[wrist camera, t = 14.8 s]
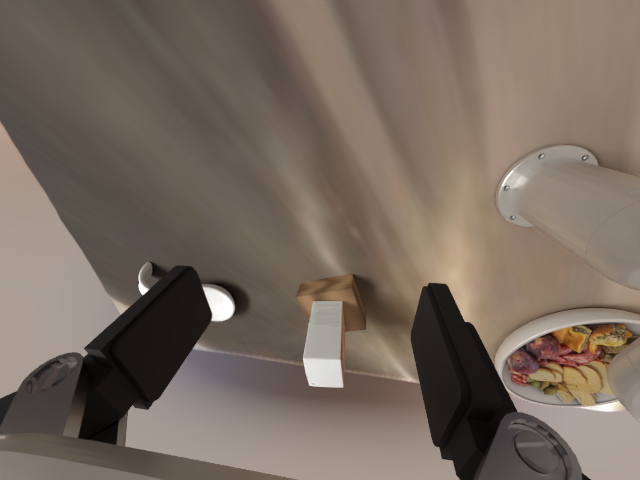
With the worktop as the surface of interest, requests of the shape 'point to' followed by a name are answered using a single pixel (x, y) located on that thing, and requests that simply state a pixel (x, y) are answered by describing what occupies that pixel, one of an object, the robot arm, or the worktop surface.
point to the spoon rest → (215, 295)
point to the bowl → (566, 356)
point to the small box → (325, 345)
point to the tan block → (335, 299)
